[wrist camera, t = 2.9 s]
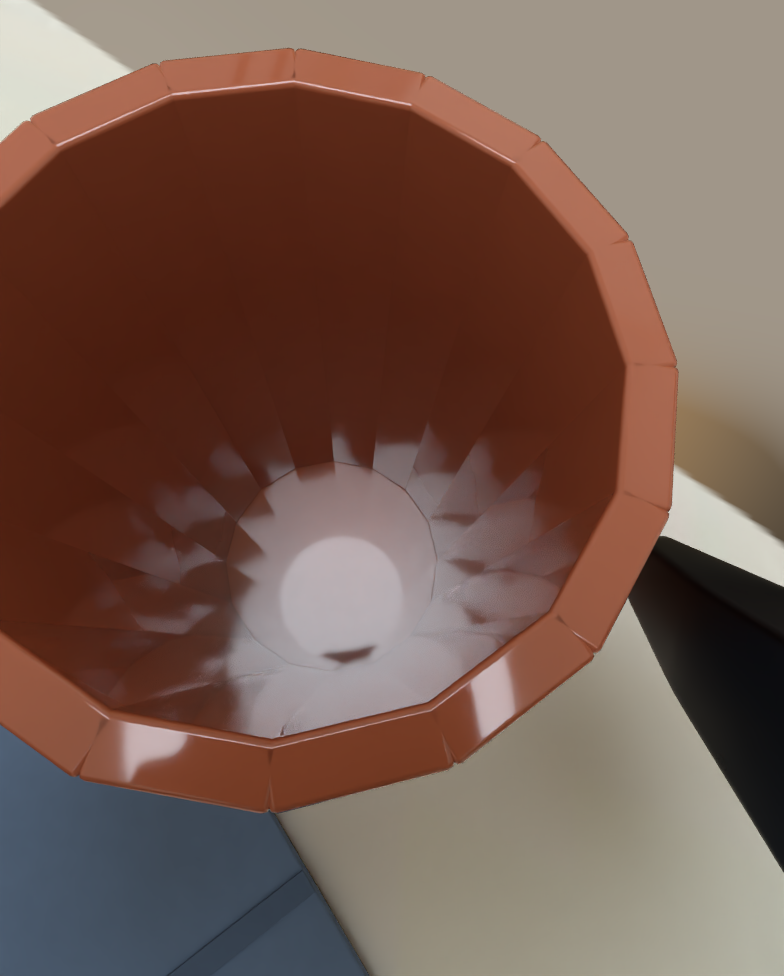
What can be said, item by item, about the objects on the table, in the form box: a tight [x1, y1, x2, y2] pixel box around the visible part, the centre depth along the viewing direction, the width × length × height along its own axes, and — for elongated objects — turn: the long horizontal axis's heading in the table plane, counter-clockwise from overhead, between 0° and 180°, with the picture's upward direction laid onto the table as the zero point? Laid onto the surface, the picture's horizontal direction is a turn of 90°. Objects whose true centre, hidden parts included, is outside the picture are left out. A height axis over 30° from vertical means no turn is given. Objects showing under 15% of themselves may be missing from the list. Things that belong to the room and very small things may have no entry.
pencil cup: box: [0, 48, 678, 814], centre depth 11 cm, size 7×7×13 cm
